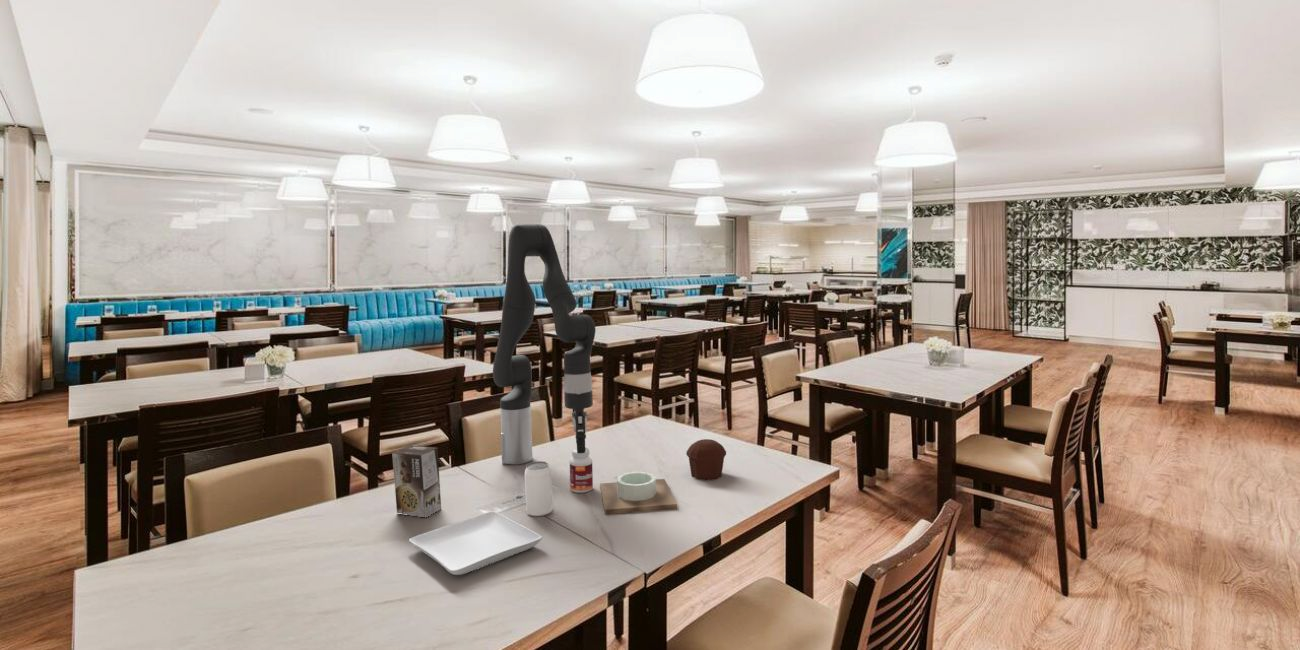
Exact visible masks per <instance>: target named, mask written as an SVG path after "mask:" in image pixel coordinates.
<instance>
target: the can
mask: <svg viewBox="0 0 1300 650" xmlns="http://www.w3.org/2000/svg"><path fill="white" fill-rule="evenodd" d="M525 467H526V468H525V470H524V489H525V491H524V492H525V493H524V494H525V509H526V510H525V511H526V513H527V515H528V516H530V517H543V516H547V515H549V514H551V512H552V511H553V486H552V469H551V467H550V464H549V462H547V461H532V462H528V463H526V465H525Z"/></svg>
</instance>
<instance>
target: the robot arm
mask: <svg viewBox="0 0 1300 650" xmlns="http://www.w3.org/2000/svg"><path fill="white" fill-rule="evenodd" d="M507 247H508V250H507V274H506V281H505V282H506V283H505V291H504V297H503V304H502V312H501V321H500V323H501V324H500V330H499V337H498V342H497V347H496V351H495V356H494V359H493V367H492V378H493V381H494V384H495V385H496V386H497V387H500V388H508V387H513V388H512V390H510V392H509V393H507V394H505V395H504V396H502V397H501V398H500V399H499V400H500V401H499V406H500V407H499V409H500V426H501V427H500V429H501V430H500V431H501V433H500V449H501V452H500V453H501V464H503V465H507V464H508V465H522V464H528V463H530V462H531V461H532V460H533V439H532V437H533V435H532V414H531V413H532V412H531V399H532V381H533V380H532V378H533V377H532V373H533V372H532V365H531V362H530V359H529V357H528V356H526V355H524V354H517V355H514V352H515V349H516V346H517V344H518V343H519V341H520V340H521V339H522V338H523V336H524V335H525V334H526V333H527V331H528V329H530V327H531V325H532V323H533V320H534V316H535V308H536V296H535V294H534V291H533V289H532V286H531V285H530V282H529V281H528V279H527V276H526V273H525V271H526V268H525V264H526V258H528V257H539V258H540V259H541V261H542V263H543V264H544V274H543V279H542V290H543V291H542V292H543V294H544V296H545V299H546V301H547V303H548V305H549V307H550V309H551V312H552V316H553V317H552V318H553V324H554V331H555V333H556V337H557V338H558V339H559V340H560V341H562V342H563V343H575V345H574V348H572V349H570V350H568V351H566V352H565V353H564V354H563V355H564V356H563V365H564V366H563V368H564V370H563V371H564V372H563V373H564V376H563V390H564V391H563V394H564V407H565V408H566V409H569V410H573V411H574V412H571V420H572V425H573V431H574V432H575V437H574V438H575V444H576V448H577V453H585V448H586V439H587V434H586V432H587V429H588V428H587V427H588V425H587V421H588V414H587V411H585V409H589V408H591V407H592V406H593V405H594V401H593V399H594V397H593V379H592V373H591V368H592V367H591V354H592V351H593V350H592V349H593V346H594V341H595V337H596V324H595V321H594V319H593V318H592V316H591V315H589V314H574V315H570V314H571V313H572V312H574V311H575V309H576V308H577V307H578V306H577V304H578V302H577V299H576V297H575V296H574V293H573V291H572V290H571V287H570V285H569V284H568V282H567V279H566V277H565V275H564V272H563V270H562V266H561V262H560V259H559V255H558V253H557V252H558V251H557V249H556V246H555V244H554V239H553V237H552V234H551V232H550V230H549V229H548V227H547V226H545V225H543V224H537V223H535V224H534V223H516V224H514V225H512V227H511V229H510V231H509V236H508V246H507Z"/></svg>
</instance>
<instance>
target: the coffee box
mask: <svg viewBox="0 0 1300 650" xmlns="http://www.w3.org/2000/svg"><path fill="white" fill-rule="evenodd" d="M391 455H392V469H393V477H394V478H393V480H394V481H393V482H394V491H395V492H394V493H395V494H394V495H395V503H396V504H395V505H396V514H397V513H402V514H407V515H413V516H419V517H418V518H420V517H425V518H424V519H426V517H427V518H429V517H430V516H432V515H434V514H436V513H437V512H439V511H441V510H442V501H441V500H442V499H441V497H442V495H441V483H440V468H439V466H440V465H439V464H440V463H439V448H438V447H433V446H421V445H407V446H404V447H402V448H400V449H398V450H395V451H394V452H392V453H391ZM440 509H441V510H440ZM438 510H439V511H438ZM436 511H437V512H436ZM435 512H436V513H435ZM433 513H434V514H433ZM431 514H432V515H431ZM428 516H429V517H428Z"/></svg>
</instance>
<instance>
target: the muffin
mask: <svg viewBox="0 0 1300 650" xmlns="http://www.w3.org/2000/svg"><path fill="white" fill-rule="evenodd" d="M685 454H686V457H688V463H689V469H690V474H691V477H692V478H695V479H697V480H701V481H711V480H712V481H713V480H717V479H719V478H721V477H722V475H723V468H724V460H725V458H726V457H725V456H726V455H727V451H726V449H725V448H724V446H723V445H722V444H721V443H719V442H718V441H716V440H714V439H699V440H696V441H695V442H693V443H692V444H691V445H689V447H688V449H687V450H686V453H685Z"/></svg>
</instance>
